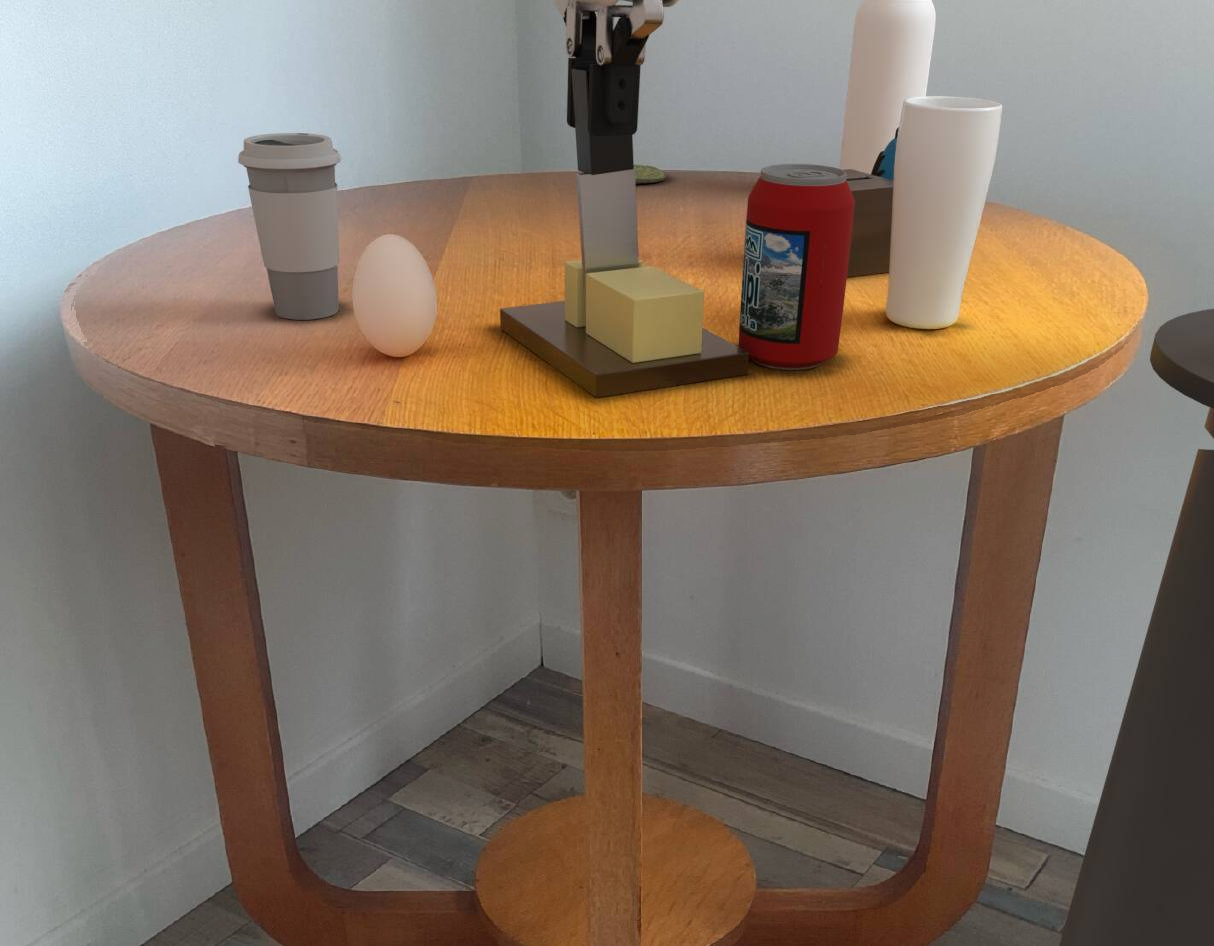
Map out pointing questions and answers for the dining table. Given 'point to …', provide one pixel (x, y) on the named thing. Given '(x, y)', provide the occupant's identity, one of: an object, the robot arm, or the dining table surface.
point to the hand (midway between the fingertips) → (601, 128)
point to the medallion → (648, 174)
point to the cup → (296, 219)
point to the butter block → (644, 313)
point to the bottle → (884, 74)
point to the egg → (394, 296)
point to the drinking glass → (938, 204)
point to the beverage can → (795, 265)
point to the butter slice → (576, 293)
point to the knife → (604, 192)
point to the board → (614, 354)
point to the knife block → (870, 223)
